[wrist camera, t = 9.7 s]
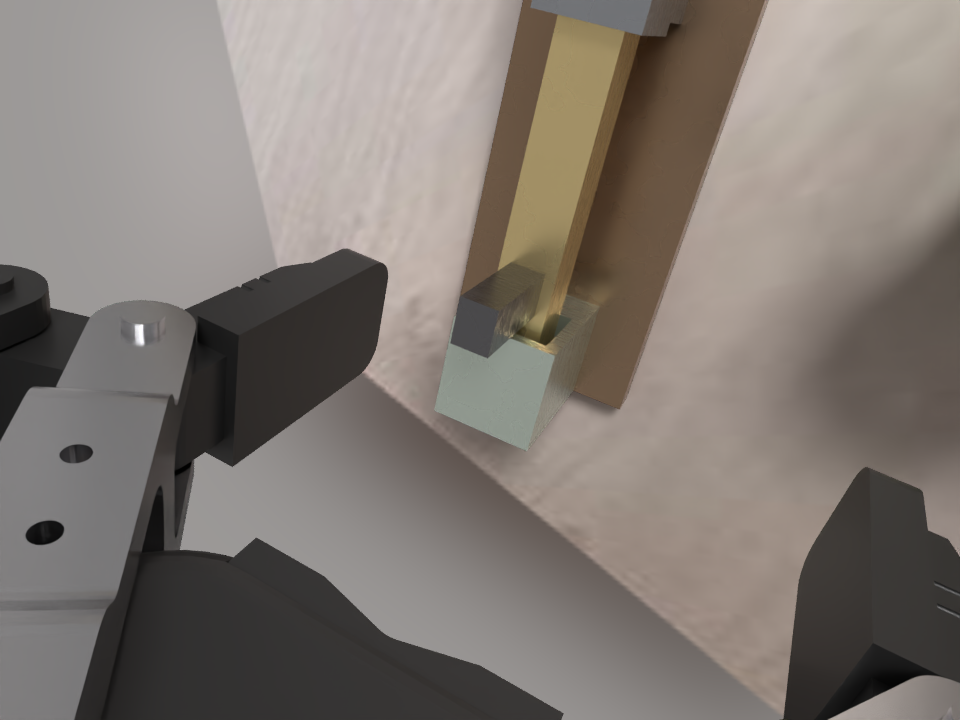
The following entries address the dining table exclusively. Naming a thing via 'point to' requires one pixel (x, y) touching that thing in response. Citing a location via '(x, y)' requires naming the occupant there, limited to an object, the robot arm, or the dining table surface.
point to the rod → (552, 189)
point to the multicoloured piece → (603, 206)
